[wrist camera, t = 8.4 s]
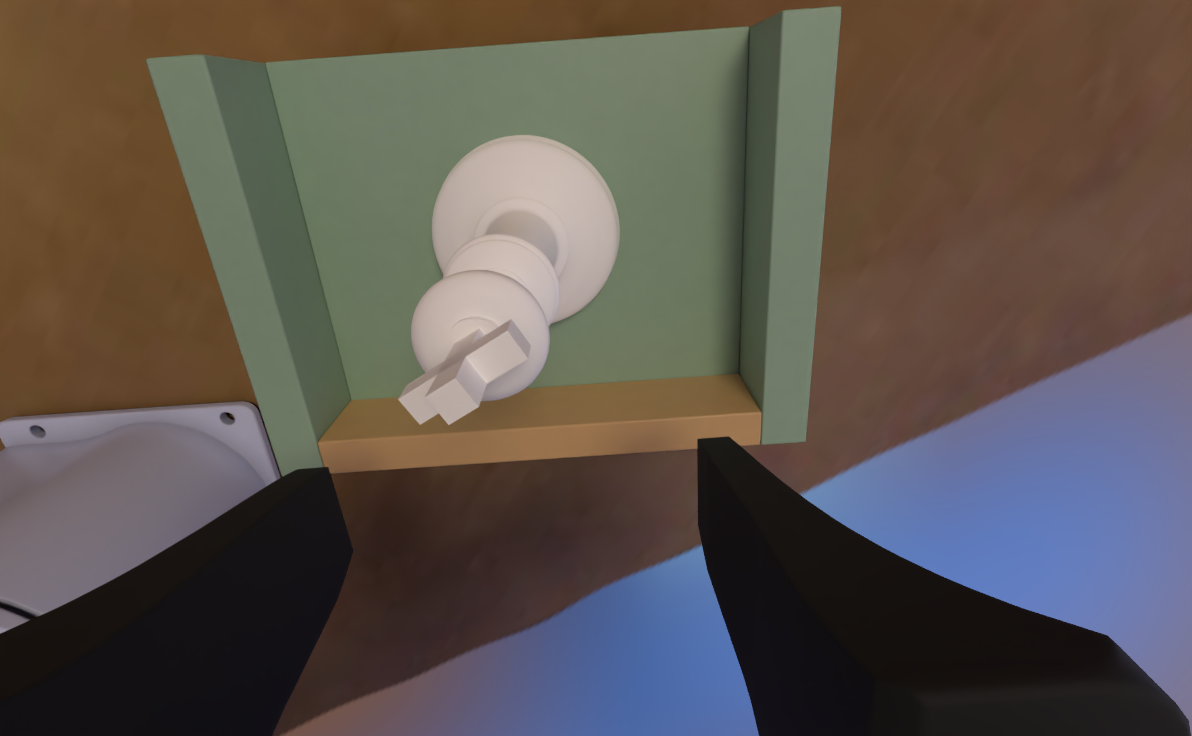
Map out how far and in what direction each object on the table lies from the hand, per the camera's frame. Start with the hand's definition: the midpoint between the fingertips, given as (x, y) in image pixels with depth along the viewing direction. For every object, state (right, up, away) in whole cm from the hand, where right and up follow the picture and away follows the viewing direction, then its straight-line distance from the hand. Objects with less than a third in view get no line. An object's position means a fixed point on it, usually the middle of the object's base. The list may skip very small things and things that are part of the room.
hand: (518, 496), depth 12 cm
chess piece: (0, +6, +4) cm, 8 cm away
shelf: (0, +7, +8) cm, 11 cm away
